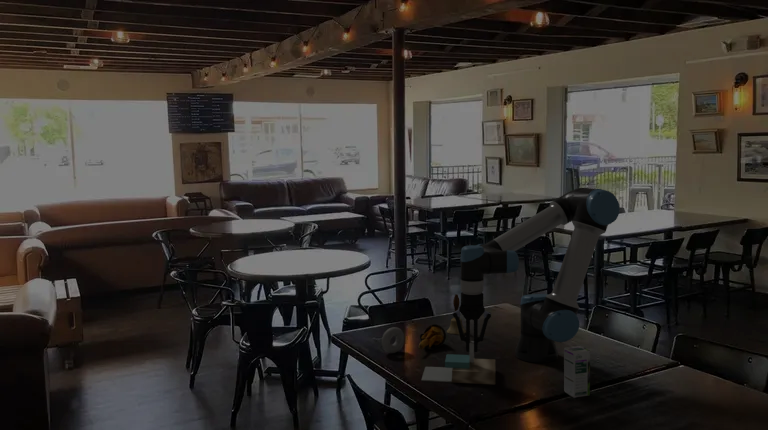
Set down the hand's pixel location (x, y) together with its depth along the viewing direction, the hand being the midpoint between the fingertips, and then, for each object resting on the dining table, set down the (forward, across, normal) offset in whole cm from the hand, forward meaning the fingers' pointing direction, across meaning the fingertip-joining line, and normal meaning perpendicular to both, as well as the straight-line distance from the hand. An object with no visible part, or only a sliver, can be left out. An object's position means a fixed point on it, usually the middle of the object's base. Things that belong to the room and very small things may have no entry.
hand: (471, 360), depth 213 cm
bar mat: (+5, +11, 0) cm, 13 cm away
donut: (+6, +30, -21) cm, 37 cm away
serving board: (+5, -1, 0) cm, 5 cm away
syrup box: (+5, -33, +11) cm, 35 cm away
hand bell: (+6, +8, -52) cm, 53 cm away
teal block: (+1, +5, 0) cm, 5 cm away
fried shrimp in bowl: (+6, +17, -28) cm, 34 cm away
